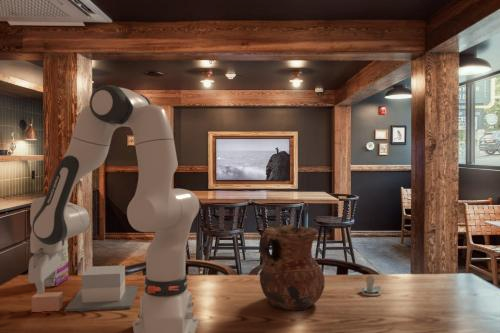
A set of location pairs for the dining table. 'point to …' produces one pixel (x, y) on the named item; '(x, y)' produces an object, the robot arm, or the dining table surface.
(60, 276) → the candy bar box
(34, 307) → the terracotta brick
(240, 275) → the dining table surface
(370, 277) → the pacifier
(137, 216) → the robot arm
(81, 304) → the white stack on tray
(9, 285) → the dining table surface
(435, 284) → the dining table surface
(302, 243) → the jug
